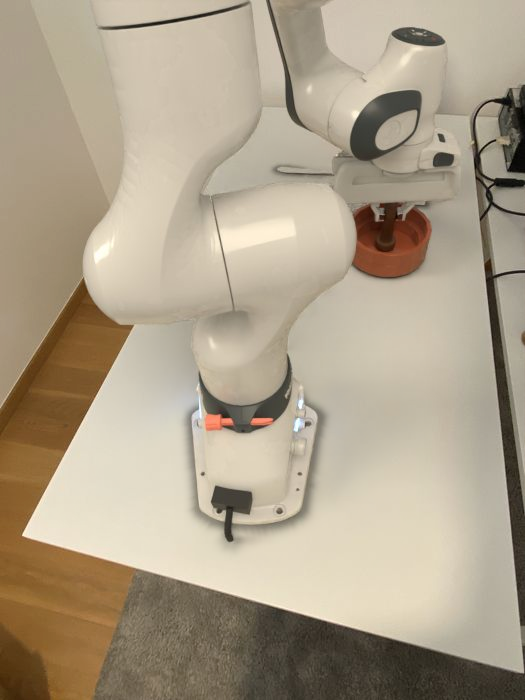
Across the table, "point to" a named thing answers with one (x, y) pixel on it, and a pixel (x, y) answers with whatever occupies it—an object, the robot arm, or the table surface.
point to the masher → (387, 228)
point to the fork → (302, 170)
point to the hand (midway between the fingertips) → (389, 219)
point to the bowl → (407, 247)
